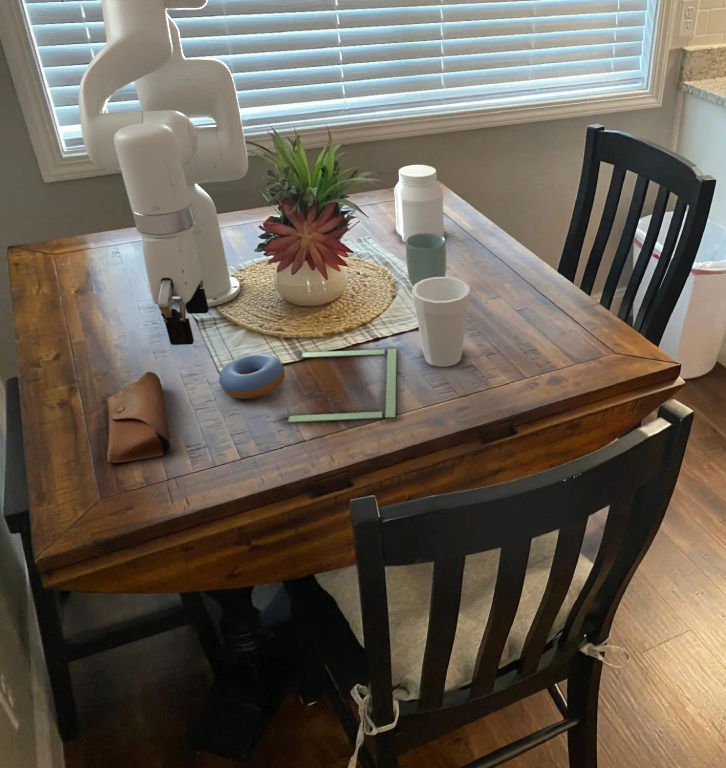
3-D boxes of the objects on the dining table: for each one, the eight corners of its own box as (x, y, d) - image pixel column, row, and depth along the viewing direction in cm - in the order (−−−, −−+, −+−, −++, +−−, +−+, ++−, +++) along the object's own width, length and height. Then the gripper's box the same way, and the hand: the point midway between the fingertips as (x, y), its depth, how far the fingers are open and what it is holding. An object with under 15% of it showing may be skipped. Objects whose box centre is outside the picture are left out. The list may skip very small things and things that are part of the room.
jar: (393, 227, 177) (389, 164, 168) (432, 223, 180) (430, 160, 172) (406, 246, 168) (403, 181, 160) (447, 241, 171) (446, 176, 163)
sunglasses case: (102, 396, 117) (116, 361, 115) (150, 406, 121) (164, 372, 119) (106, 465, 103) (122, 426, 101) (159, 474, 108) (176, 436, 106)
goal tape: (288, 422, 113) (288, 421, 113) (302, 353, 130) (302, 352, 130) (395, 417, 115) (395, 416, 115) (396, 349, 132) (396, 348, 131)
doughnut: (212, 383, 121) (207, 359, 119) (272, 364, 127) (268, 340, 124) (235, 413, 115) (230, 388, 112) (297, 391, 120) (293, 367, 118)
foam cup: (478, 349, 132) (478, 282, 125) (458, 376, 125) (457, 306, 118) (429, 339, 135) (426, 273, 128) (406, 364, 128) (402, 296, 120)
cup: (449, 279, 155) (448, 234, 149) (443, 297, 148) (441, 250, 143) (412, 277, 155) (410, 231, 150) (404, 294, 149) (401, 247, 143)
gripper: (153, 198, 111) (179, 302, 120) (115, 243, 96) (148, 358, 106) (206, 197, 111) (227, 301, 121) (176, 242, 97) (203, 356, 106)
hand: (190, 327), depth 113 cm, fingers open, 9 cm apart
